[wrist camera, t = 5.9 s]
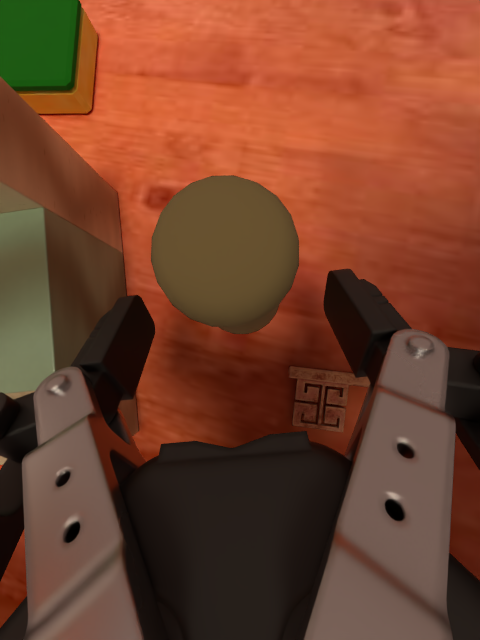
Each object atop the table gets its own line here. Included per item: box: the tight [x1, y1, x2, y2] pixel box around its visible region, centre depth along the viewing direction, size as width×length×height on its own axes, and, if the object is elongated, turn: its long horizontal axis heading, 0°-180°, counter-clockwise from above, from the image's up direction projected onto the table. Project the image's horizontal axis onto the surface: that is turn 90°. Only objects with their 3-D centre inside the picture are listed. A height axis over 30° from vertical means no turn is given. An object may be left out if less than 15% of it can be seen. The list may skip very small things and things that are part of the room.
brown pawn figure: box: [151, 175, 299, 334], centre depth 12 cm, size 6×6×11 cm
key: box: [289, 366, 370, 432], centre depth 16 cm, size 6×1×15 cm
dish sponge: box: [0, 0, 98, 114], centre depth 18 cm, size 7×14×2 cm, turn 87°
